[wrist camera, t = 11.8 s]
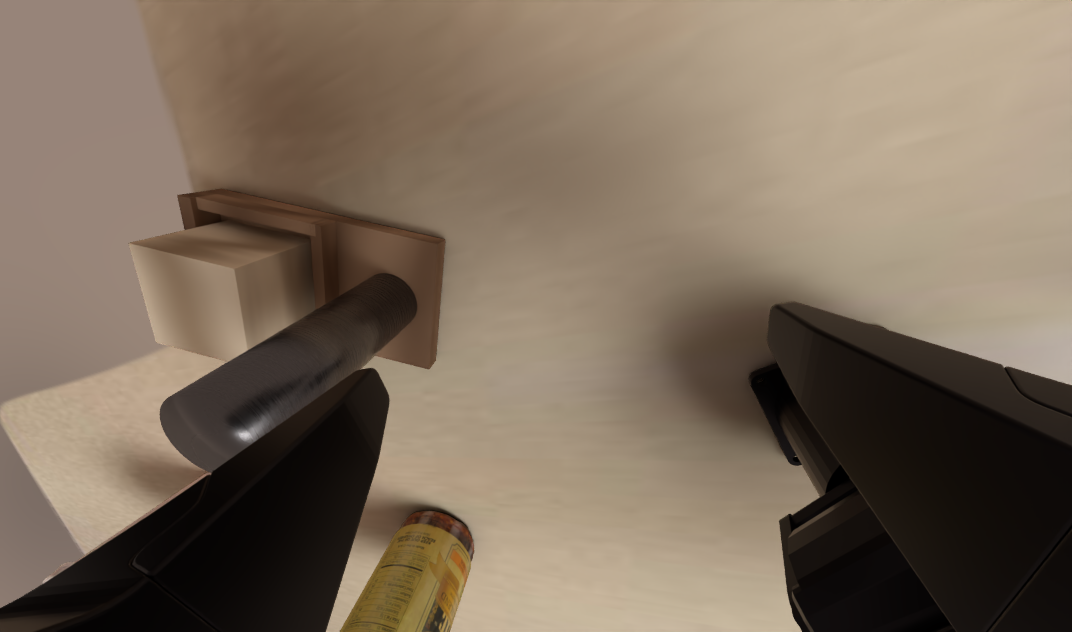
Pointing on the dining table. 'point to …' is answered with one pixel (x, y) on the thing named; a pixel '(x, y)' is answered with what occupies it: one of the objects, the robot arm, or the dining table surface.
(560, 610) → the dining table surface
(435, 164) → the dining table surface
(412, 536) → the sauce bottle
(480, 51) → the dining table surface
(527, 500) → the dining table surface
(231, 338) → the birch block
